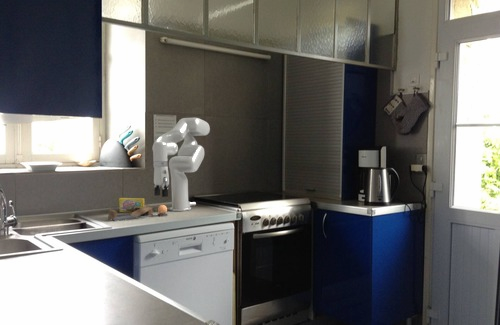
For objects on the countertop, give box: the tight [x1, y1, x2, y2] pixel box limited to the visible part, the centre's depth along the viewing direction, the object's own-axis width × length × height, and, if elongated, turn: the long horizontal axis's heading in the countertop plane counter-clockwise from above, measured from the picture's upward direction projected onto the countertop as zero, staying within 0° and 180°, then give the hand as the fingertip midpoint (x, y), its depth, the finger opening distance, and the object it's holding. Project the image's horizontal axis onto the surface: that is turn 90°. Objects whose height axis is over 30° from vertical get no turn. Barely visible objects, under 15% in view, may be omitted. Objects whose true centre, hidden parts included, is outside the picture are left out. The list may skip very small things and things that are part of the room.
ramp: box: [107, 204, 154, 221], centre depth 251 cm, size 22×9×5 cm, turn 126°
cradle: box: [157, 212, 168, 217], centre depth 256 cm, size 3×5×1 cm, turn 36°
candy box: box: [118, 197, 146, 213], centre depth 270 cm, size 16×2×8 cm, turn 71°
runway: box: [108, 212, 155, 222], centre depth 252 cm, size 22×9×2 cm, turn 126°
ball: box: [157, 204, 168, 214], centre depth 256 cm, size 5×5×5 cm
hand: (161, 196), depth 254 cm, fingers open, 9 cm apart
